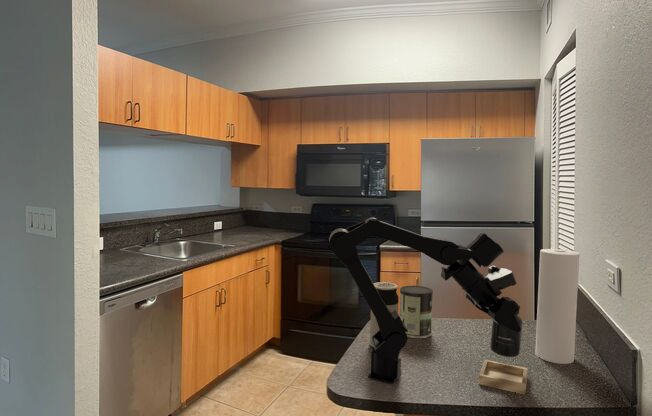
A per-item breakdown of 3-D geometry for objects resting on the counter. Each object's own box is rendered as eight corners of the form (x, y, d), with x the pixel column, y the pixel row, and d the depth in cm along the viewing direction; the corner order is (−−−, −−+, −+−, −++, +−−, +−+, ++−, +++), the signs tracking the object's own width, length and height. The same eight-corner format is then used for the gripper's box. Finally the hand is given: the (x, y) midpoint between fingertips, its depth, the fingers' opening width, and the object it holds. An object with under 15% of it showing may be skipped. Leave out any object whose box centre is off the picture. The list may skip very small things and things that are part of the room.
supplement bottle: (499, 358, 98) (502, 309, 97) (484, 346, 105) (488, 300, 104) (526, 357, 99) (529, 309, 98) (510, 346, 106) (513, 300, 105)
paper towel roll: (579, 365, 110) (585, 253, 108) (541, 361, 111) (546, 251, 110) (566, 351, 119) (571, 248, 117) (531, 348, 121) (535, 246, 119)
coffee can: (427, 327, 137) (428, 285, 136) (435, 339, 127) (436, 293, 126) (396, 326, 137) (397, 284, 136) (401, 338, 127) (402, 293, 126)
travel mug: (402, 346, 121) (404, 285, 120) (385, 353, 115) (386, 290, 114) (382, 338, 127) (383, 280, 126) (364, 344, 121) (365, 284, 120)
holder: (478, 384, 99) (479, 375, 98) (484, 367, 107) (484, 359, 107) (525, 394, 94) (525, 385, 94) (527, 376, 103) (527, 368, 102)
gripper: (514, 265, 91) (559, 316, 92) (480, 251, 110) (518, 293, 111) (476, 299, 91) (522, 349, 92) (449, 279, 110) (487, 321, 111)
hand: (512, 326), depth 101 cm, fingers closed on supplement bottle, 7 cm apart
